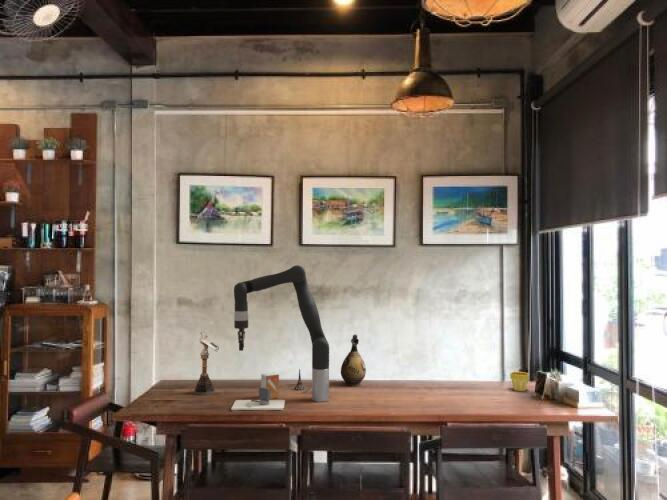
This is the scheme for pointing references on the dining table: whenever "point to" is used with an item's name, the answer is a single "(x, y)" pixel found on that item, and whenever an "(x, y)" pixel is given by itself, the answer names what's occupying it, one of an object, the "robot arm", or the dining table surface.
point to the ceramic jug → (353, 366)
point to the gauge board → (258, 405)
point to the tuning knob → (264, 396)
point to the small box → (271, 383)
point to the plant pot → (519, 380)
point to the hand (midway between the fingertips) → (241, 349)
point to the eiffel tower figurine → (300, 385)
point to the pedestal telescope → (205, 369)
